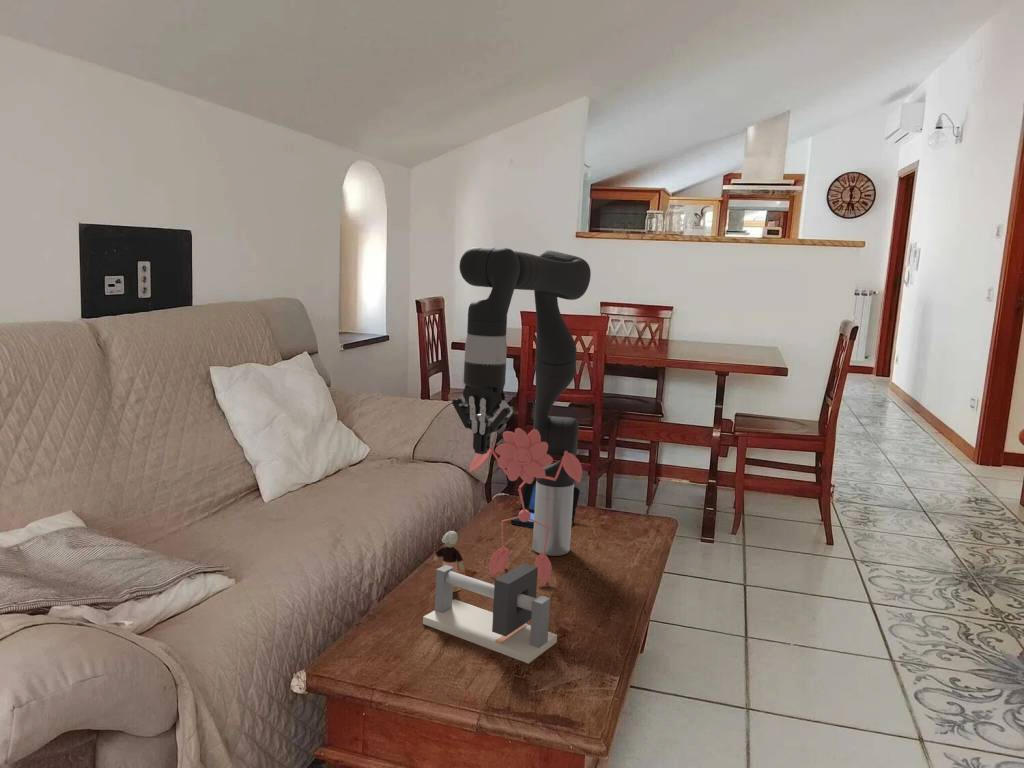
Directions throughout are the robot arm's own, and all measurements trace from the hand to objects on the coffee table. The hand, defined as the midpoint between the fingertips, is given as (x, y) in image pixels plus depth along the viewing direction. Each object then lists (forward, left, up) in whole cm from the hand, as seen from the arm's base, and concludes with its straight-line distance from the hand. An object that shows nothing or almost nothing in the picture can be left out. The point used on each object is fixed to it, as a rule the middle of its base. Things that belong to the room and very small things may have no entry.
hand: (480, 452), depth 146 cm
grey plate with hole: (+5, +7, -32) cm, 33 cm away
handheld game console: (-61, +30, -36) cm, 76 cm away
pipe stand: (+1, +3, -35) cm, 35 cm away
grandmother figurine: (-20, -2, -35) cm, 41 cm away
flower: (-21, +13, -35) cm, 43 cm away
